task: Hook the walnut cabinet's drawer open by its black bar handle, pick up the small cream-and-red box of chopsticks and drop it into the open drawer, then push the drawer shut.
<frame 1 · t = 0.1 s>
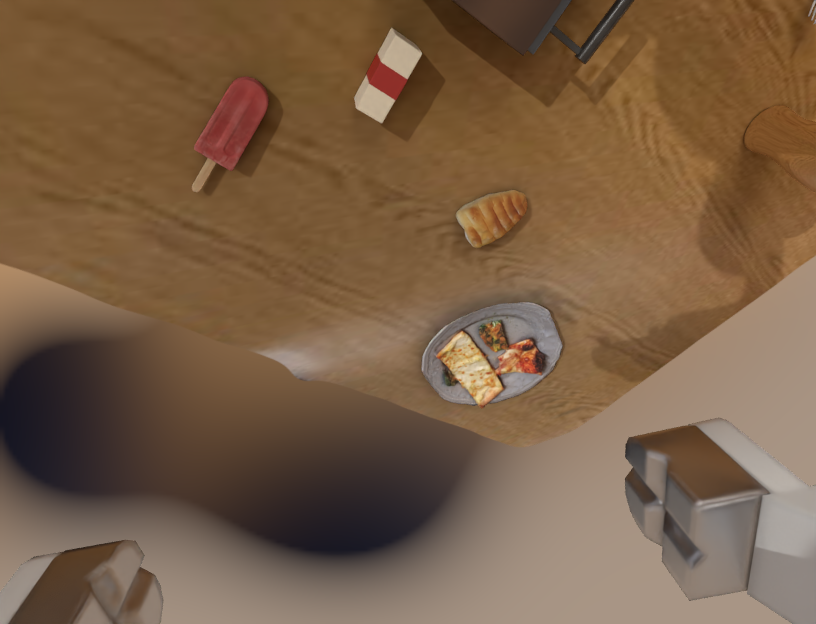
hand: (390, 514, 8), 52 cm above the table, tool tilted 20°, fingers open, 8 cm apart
food plate: (489, 350, 83), on the table
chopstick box: (384, 72, 51), on the table
popsicle: (225, 136, 54), on the table
pastry: (485, 211, 65), on the table
beer glass: (765, 128, 63), on the table
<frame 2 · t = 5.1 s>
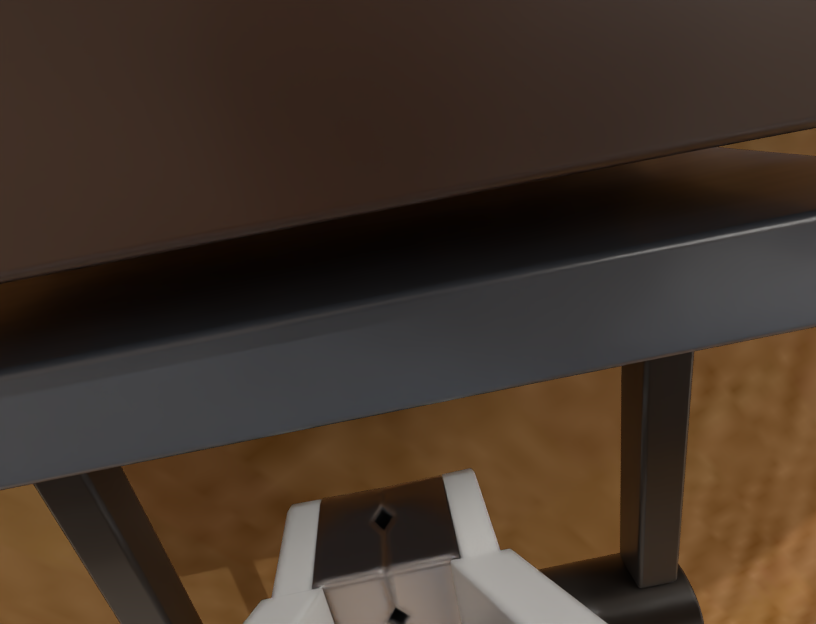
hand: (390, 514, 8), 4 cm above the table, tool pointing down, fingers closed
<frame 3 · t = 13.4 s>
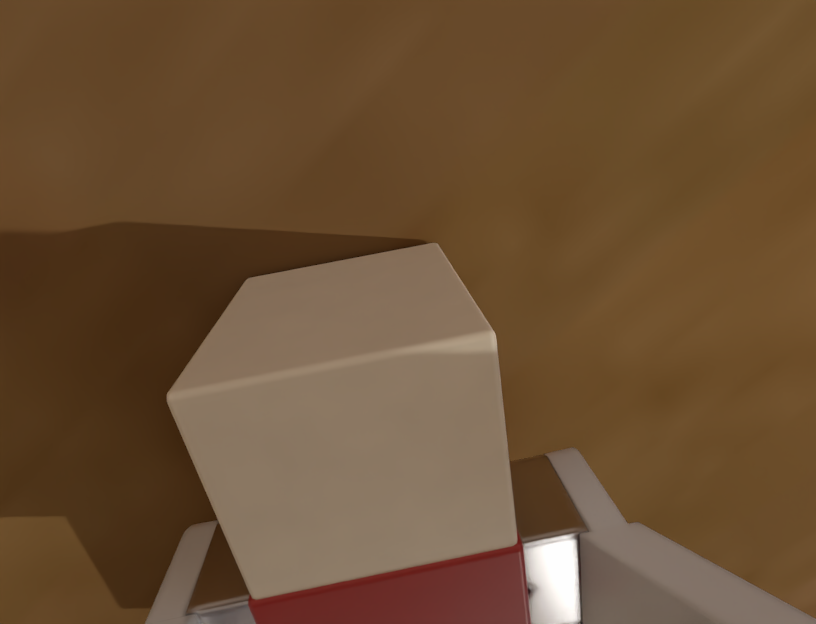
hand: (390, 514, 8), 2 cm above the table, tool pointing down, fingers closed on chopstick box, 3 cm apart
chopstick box: (386, 453, 9), on the table, touching gripper
when the fingers open (4 cm above the table, at t = 21.2 s): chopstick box stays where it is, point 2 cm above the table.
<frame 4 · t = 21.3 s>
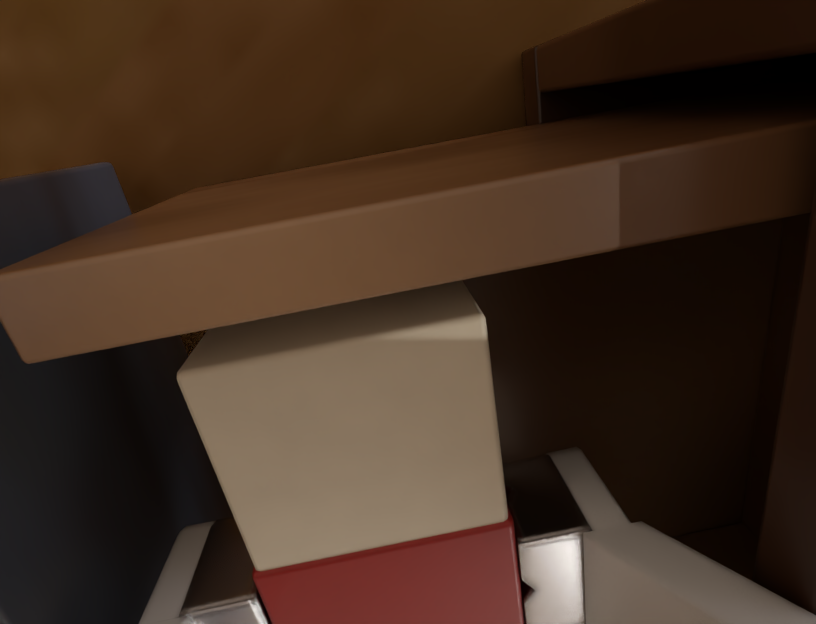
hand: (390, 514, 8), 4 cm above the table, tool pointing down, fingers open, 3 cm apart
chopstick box: (385, 440, 10), point 2 cm above the table
drawer: (345, 506, 8), point 4 cm above the table, slide at 7.9 cm
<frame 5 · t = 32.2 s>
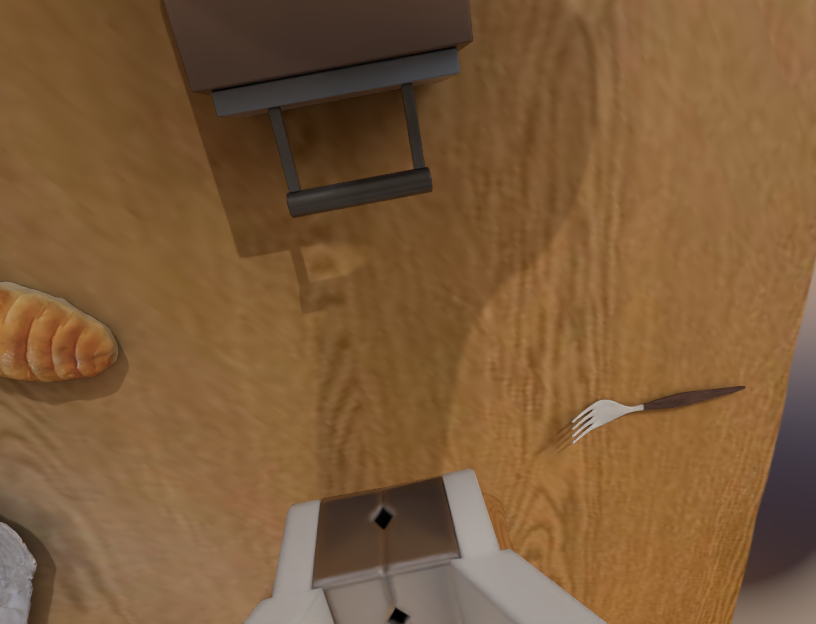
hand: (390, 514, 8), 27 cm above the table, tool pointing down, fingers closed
fork: (650, 400, 41), on the table
pastry: (44, 324, 34), on the table
drawer: (324, 11, 25), point 4 cm above the table, slide at 0.0 cm, touching cabinet, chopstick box
beer glass: (471, 516, 45), on the table
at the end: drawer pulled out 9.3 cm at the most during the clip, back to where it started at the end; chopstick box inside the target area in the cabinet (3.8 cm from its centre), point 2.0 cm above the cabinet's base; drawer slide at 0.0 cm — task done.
